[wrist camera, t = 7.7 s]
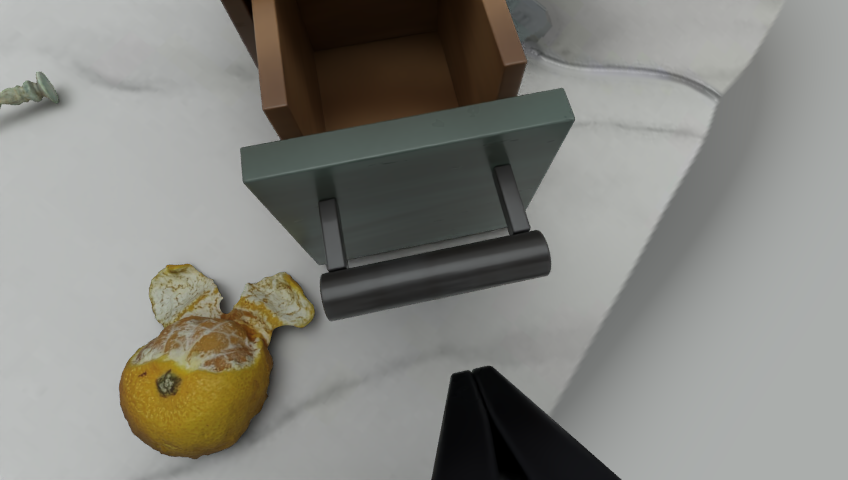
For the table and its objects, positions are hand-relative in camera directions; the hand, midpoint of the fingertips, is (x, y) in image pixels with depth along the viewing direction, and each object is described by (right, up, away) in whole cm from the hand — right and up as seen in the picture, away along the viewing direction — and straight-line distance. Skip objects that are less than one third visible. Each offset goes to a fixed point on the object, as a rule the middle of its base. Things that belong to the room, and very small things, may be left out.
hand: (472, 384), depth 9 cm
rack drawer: (-2, +7, +13) cm, 15 cm away
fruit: (-10, -2, +12) cm, 15 cm away
